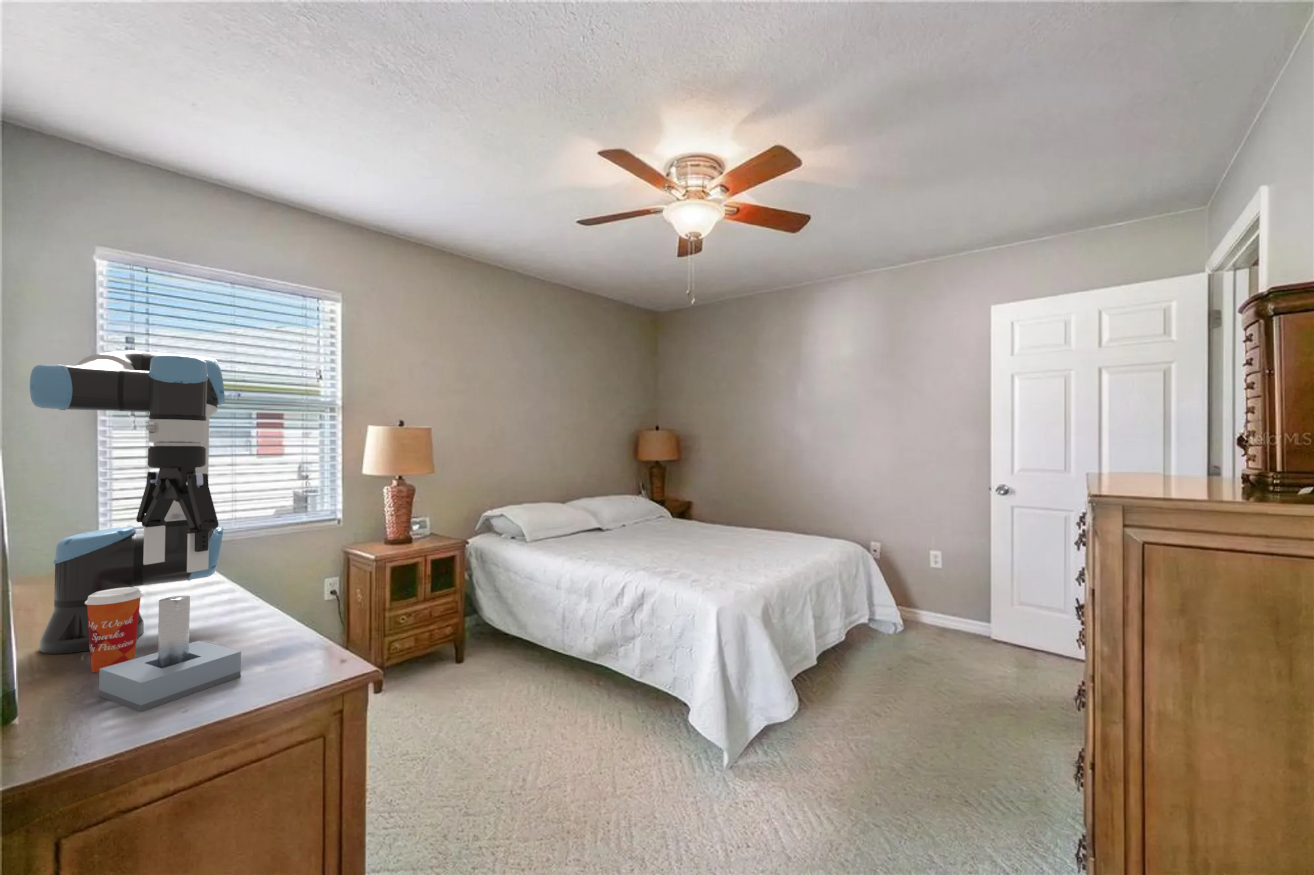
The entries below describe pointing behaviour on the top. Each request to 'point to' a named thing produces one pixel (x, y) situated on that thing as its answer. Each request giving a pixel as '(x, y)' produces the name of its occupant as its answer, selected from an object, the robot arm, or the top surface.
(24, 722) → the top surface
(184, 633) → the pin
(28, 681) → the top surface
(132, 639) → the paper cup
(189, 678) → the socket block
